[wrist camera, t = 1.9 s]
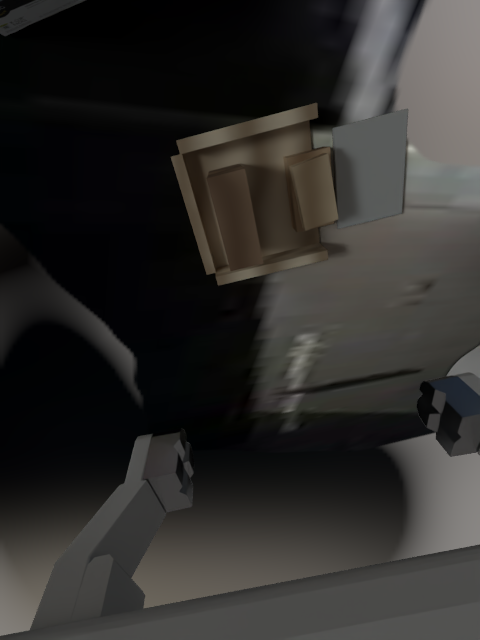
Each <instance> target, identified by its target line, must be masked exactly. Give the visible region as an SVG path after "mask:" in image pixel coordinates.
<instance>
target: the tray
mask: <svg viewBox="0 0 480 640" xmlns="http://www.w3.org/2000/svg"><path fill="white" fill-rule="evenodd" d="M315 118H318V111H317V103H314V104H311V105H307V106H303V107H299V108H296V109H292V110H288V111H285V112H281V113H277V114H273V115H270V116H266V117H262V118H259V119H255V120H251V121H247V122H244V123H240V124H236V125H233V126H229V127H225V128H221V129H218V130H214V131H210V132H207V133H203V134H199V135H195V136H192V137H188V138H184V139H181V140H177V145H178V148H179V152H180V155H176V156H172V157H171V159H172V162H173V166H174V169H175V172H176V175H177V179H178V182H179V185H180V188H181V192H182V195H183V198H184V201H185V205H186V208H187V211H188V215H189V218H190V221H191V224H192V228H193V231H194V234H195V237H196V241H197V244H198V247H199V250H200V254H201V257H202V260H203V264H204V267H205V270H206V273H207V274H211V273H216V279H217V283H218V285H223V284H227V283H231V282H235V281H240V280H244V279H248V278H252V277H256V276H261V275H265V274H269V273H273V272H278V271H282V270H286V269H290V268H294V267H299V266H303V265H307V264H311V263H316V262H320V261H324V260H328V251H327V249H326V248H325V247H323V246H322V245H321V244H320V242H319V230H318V228H314V229H310V230H307V231H301V232H296V231H295V230H294V229H293V228H292V221H291V213H290V205H289V198H288V190H287V182H286V175H285V167H284V159H283V157H285V156H289V155H293V154H297V153H301V152H305V151H308V150H312V147H311V135H310V123H309V120H311V119H315ZM235 164H240V165H241V166H243V167H244V168H245V171H246V176H247V181H248V187H249V192H250V197H251V202H252V207H253V212H254V218H255V223H256V228H257V233H258V238H259V243H260V249H261V254H262V259H263V264H260V265H256V266H251V267H247V268H243V269H239V270H235V271H230V267H229V263H228V260H227V256H226V252H225V248H224V244H223V240H222V236H221V233H220V229H219V225H218V221H217V217H216V213H215V209H214V206H213V202H212V198H211V194H210V190H209V186H208V182H207V179H206V178H207V176H208V173H209V171H212V170H216V169H220V168H223V167H227V166H231V165H235Z"/></svg>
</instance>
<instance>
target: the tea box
mask: <svg viewBox="0 0 480 640" xmlns="http://www.w3.org/2000/svg"><path fill="white" fill-rule="evenodd" d="M83 1H85V0H0V34H2V35H4V36H7V35H9V34H12V33H14V32H17V31H19V30H21V29H23V28H25V27H26V26H28V25H30V24H32V23H35V22H37V21H39V20H42V19H44V18H47V17H49V16H51V15H54V14H56V13H58V12H60V11H62V10H65V9H67V8H69V7H71V6H74V5H76V4H79V3H81V2H83Z"/></svg>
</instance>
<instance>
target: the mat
mask: <svg viewBox="0 0 480 640" xmlns="http://www.w3.org/2000/svg"><path fill="white" fill-rule="evenodd" d="M407 119H408V109H404V110H400V111H396V112H392V113H389V114H385V115H381V116H377V117H373V118H370V119H366V120H362V121H358V122H354V123H351V124H347V125H343V126H339V127H335V128H332V134H333V154H334V173H335V193H336V206H337V213H338V220H337V228H338V229H340V228H344V227H348V226H352V225H356V224H360V223H364V222H369V221H373V220H377V219H381V218H385V217H389V216H393V215H397V214H402V202H403V185H404V169H405V153H406V137H407Z"/></svg>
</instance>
